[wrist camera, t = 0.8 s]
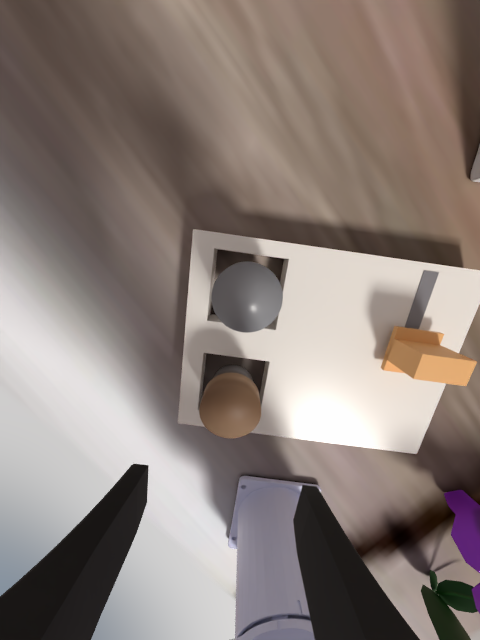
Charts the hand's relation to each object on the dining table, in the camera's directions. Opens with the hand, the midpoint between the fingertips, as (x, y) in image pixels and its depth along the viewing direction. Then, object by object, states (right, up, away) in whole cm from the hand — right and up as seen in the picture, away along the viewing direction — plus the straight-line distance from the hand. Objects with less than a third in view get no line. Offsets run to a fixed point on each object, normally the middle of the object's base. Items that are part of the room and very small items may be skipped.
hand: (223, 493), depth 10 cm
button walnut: (0, +2, +9) cm, 9 cm away
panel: (+7, +5, +9) cm, 13 cm away
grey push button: (+1, +9, +7) cm, 12 cm away
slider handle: (+13, +5, +7) cm, 15 cm away
